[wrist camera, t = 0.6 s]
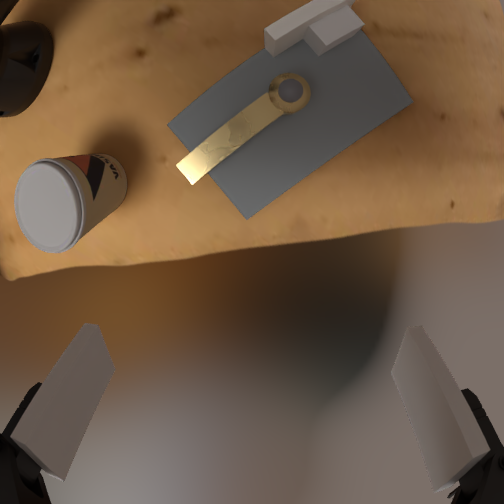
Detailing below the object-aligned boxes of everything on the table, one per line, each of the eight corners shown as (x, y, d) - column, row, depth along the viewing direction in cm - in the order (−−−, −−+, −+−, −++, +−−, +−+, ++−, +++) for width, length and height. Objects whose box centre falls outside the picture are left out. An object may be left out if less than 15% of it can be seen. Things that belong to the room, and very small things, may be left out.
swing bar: (288, 76, 27) (293, 65, 22) (310, 102, 28) (319, 97, 23) (185, 155, 31) (170, 161, 25) (206, 180, 32) (195, 190, 26)
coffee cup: (145, 166, 33) (92, 186, 22) (118, 231, 36) (67, 272, 25) (87, 135, 31) (23, 145, 20) (65, 199, 34) (7, 228, 23)
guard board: (169, 124, 31) (140, 124, 23) (337, 7, 24) (355, -23, 16) (247, 217, 34) (241, 244, 27) (409, 102, 28) (447, 98, 20)
